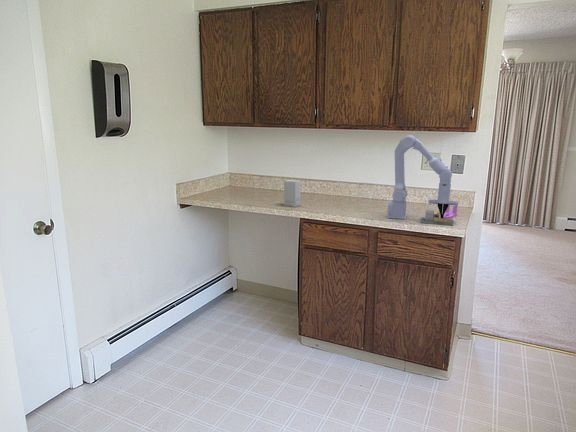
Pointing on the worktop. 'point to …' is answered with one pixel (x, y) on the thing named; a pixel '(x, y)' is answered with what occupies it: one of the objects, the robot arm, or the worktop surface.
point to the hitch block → (429, 215)
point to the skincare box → (292, 193)
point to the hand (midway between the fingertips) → (441, 218)
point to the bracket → (449, 214)
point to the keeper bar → (443, 219)
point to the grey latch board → (437, 222)
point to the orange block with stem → (436, 215)
